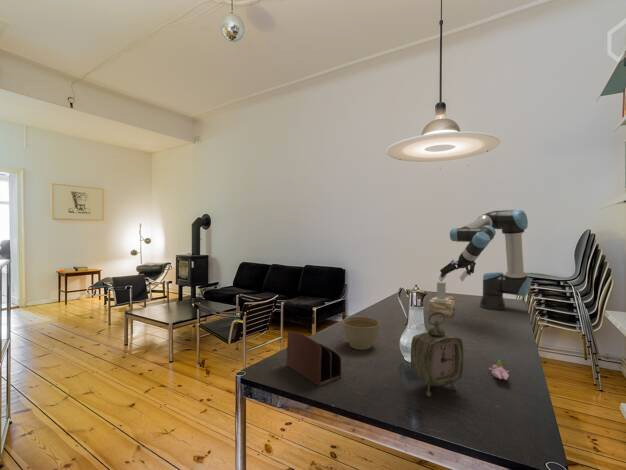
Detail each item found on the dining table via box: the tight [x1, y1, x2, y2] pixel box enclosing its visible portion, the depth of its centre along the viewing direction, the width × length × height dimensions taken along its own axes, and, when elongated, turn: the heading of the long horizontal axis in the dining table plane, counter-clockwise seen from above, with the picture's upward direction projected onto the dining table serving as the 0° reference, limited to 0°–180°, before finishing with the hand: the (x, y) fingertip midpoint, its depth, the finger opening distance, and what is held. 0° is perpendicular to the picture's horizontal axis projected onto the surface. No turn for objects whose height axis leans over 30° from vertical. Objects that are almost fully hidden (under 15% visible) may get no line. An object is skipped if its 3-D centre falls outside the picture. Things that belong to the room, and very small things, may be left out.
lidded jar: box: [445, 294, 455, 307], centre depth 207 cm, size 11×11×9 cm
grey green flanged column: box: [433, 281, 449, 303], centre depth 195 cm, size 8×8×14 cm
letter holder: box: [286, 331, 342, 386], centre depth 115 cm, size 10×20×14 cm, turn 38°
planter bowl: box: [342, 316, 381, 351], centre depth 140 cm, size 16×16×11 cm
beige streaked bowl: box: [428, 297, 454, 318], centre depth 195 cm, size 12×12×8 cm
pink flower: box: [488, 359, 510, 381], centre depth 111 cm, size 6×6×15 cm
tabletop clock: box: [410, 312, 464, 397], centre depth 102 cm, size 14×9×25 cm, turn 114°
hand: (450, 279), depth 186 cm, fingers open, 13 cm apart
